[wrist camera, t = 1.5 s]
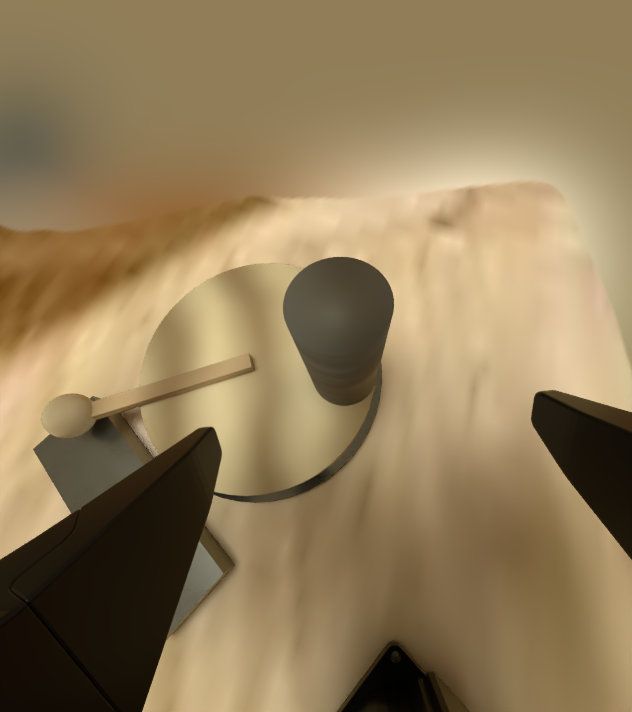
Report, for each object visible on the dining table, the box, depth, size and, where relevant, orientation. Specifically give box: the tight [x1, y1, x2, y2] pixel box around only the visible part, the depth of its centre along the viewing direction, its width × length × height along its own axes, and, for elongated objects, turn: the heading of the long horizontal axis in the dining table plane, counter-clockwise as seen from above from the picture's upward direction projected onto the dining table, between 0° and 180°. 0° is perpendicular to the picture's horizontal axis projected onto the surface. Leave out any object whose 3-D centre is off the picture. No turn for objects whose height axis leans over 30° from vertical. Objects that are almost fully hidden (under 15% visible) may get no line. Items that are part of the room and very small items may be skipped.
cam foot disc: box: [41, 257, 394, 496], centre depth 17 cm, size 21×16×10 cm
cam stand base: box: [33, 361, 382, 640], centre depth 21 cm, size 23×17×2 cm
